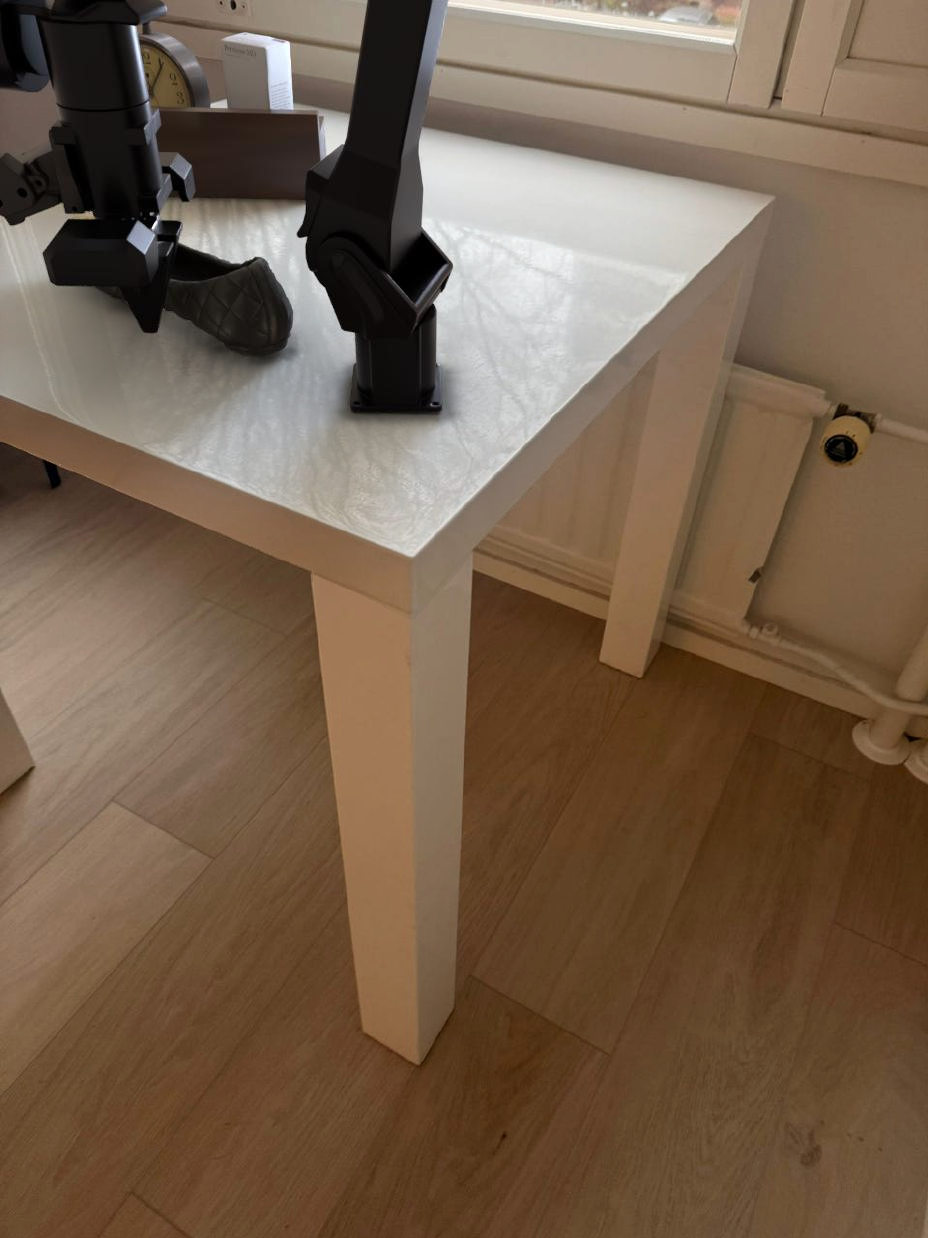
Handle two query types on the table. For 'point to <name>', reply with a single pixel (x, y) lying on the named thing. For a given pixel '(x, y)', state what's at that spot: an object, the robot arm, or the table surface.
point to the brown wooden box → (244, 149)
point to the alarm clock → (172, 72)
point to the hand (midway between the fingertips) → (151, 331)
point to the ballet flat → (227, 300)
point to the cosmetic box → (257, 72)
